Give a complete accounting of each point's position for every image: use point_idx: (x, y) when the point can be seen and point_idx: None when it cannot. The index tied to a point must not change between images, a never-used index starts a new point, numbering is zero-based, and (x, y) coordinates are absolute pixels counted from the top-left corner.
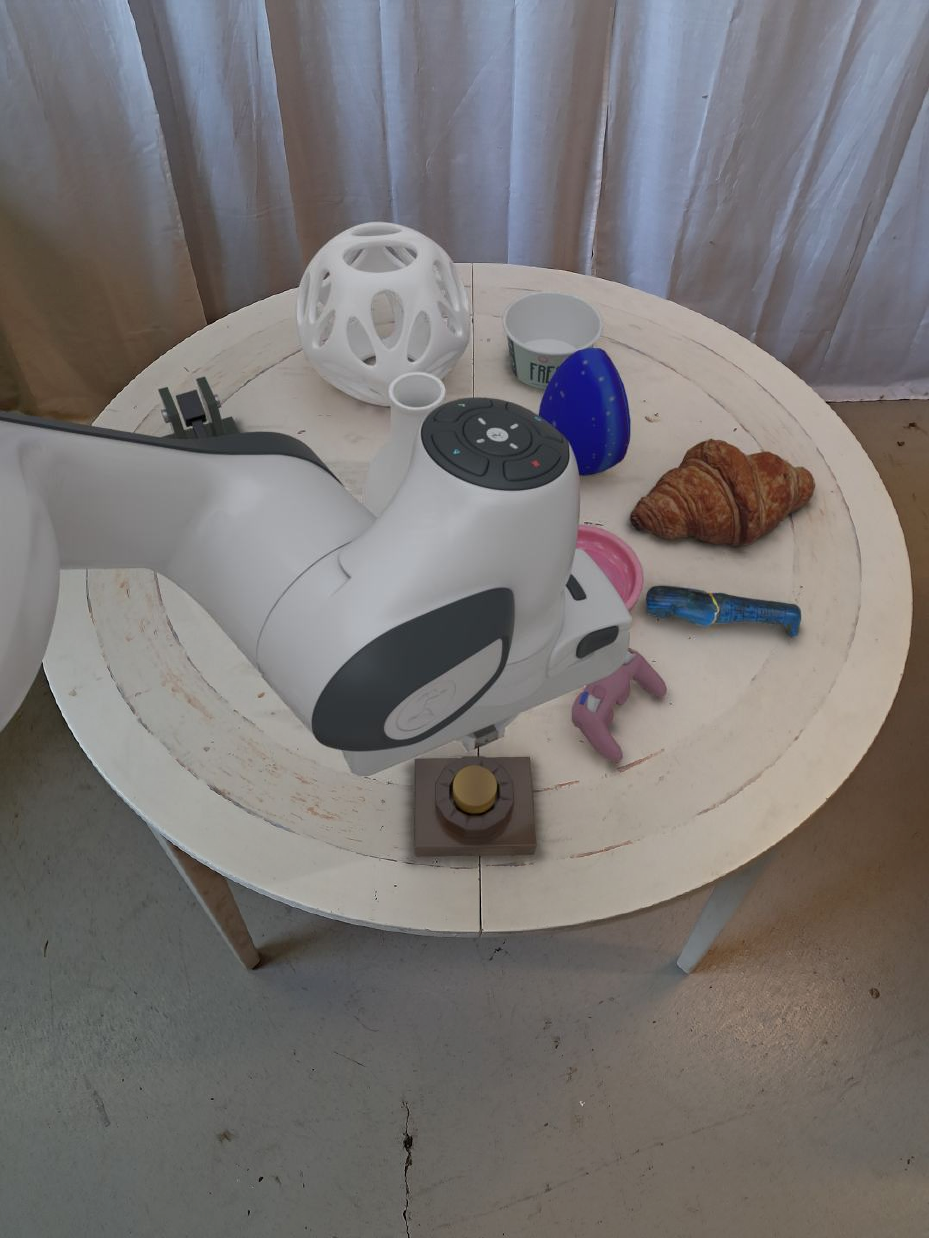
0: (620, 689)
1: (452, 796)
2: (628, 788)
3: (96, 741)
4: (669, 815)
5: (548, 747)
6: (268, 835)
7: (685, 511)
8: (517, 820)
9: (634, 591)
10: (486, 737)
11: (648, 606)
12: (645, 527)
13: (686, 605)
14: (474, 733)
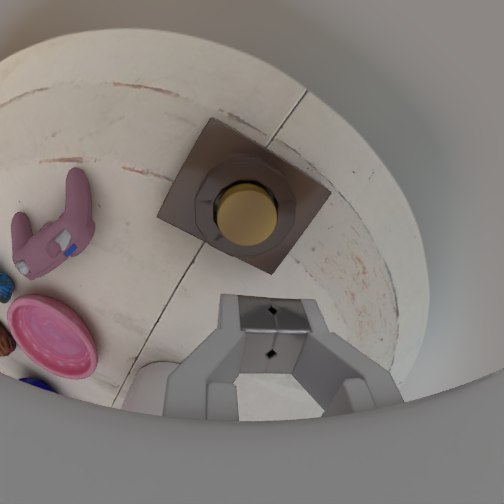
0: (34, 239)
1: None
2: (83, 137)
3: (413, 359)
4: (67, 95)
5: (132, 216)
6: (398, 268)
7: None
8: (212, 155)
9: (13, 309)
10: (277, 324)
11: (8, 290)
12: (7, 337)
13: None
14: (299, 345)
